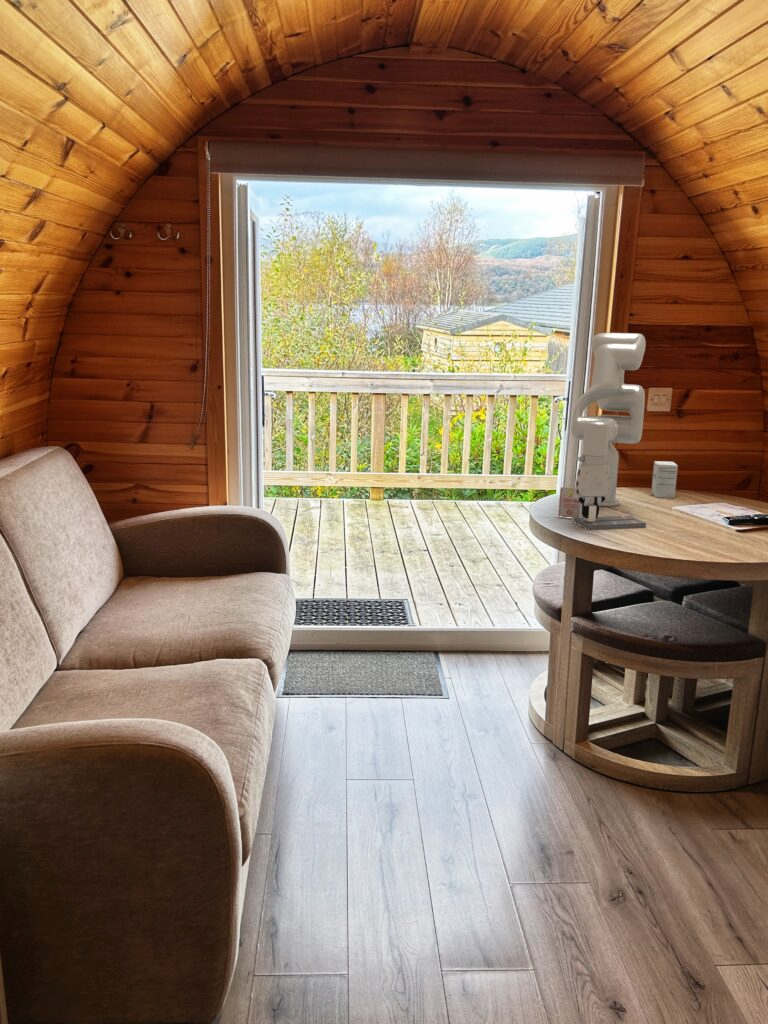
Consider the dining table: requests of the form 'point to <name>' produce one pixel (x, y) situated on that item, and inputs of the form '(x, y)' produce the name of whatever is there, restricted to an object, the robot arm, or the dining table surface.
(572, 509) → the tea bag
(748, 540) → the dining table surface
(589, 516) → the fader knob
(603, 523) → the fader board
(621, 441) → the robot arm
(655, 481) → the supplement box
